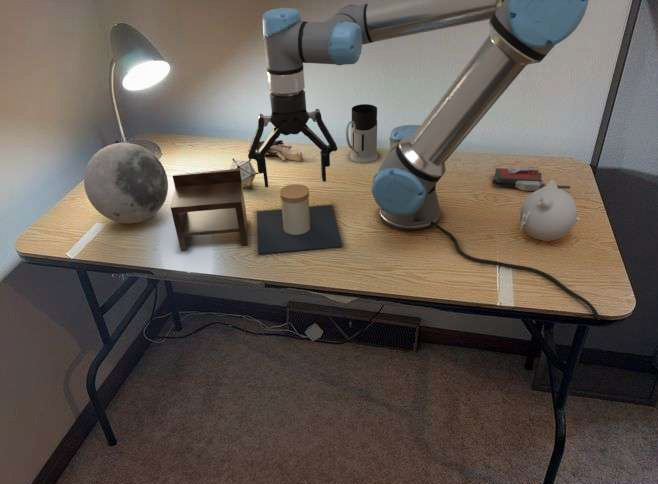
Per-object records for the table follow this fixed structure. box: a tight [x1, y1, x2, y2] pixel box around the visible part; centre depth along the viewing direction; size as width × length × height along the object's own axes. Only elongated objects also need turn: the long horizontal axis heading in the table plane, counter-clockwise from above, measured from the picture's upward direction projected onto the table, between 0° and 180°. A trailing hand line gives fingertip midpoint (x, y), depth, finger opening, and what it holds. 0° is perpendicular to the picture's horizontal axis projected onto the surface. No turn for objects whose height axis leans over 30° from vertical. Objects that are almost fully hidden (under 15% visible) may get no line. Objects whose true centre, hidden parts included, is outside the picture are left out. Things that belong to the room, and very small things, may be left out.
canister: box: [279, 183, 310, 235], centre depth 132 cm, size 7×7×10 cm
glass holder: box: [345, 103, 379, 164], centre depth 161 cm, size 9×14×15 cm, turn 146°
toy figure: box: [256, 139, 303, 162], centre depth 167 cm, size 7×6×15 cm
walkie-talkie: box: [491, 166, 571, 192], centre depth 147 cm, size 9×4×20 cm
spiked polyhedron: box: [229, 158, 260, 190], centre depth 152 cm, size 9×8×10 cm
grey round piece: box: [519, 179, 581, 242], centre depth 124 cm, size 15×13×12 cm
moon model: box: [83, 142, 169, 224], centre depth 136 cm, size 20×20×20 cm
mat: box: [256, 204, 343, 256], centre depth 135 cm, size 20×20×1 cm
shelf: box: [170, 168, 249, 253], centre depth 129 cm, size 16×11×15 cm
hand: (295, 182), depth 127 cm, fingers open, 13 cm apart
